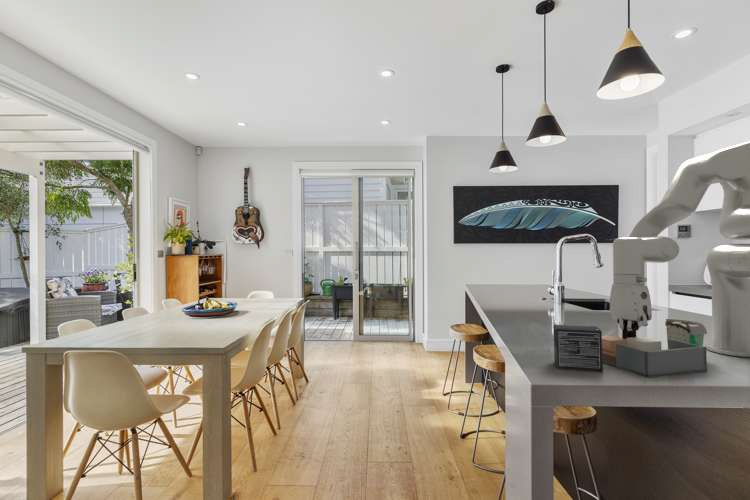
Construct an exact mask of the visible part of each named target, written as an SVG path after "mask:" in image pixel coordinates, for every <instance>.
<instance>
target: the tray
mask: <svg viewBox="0 0 750 500" xmlns="http://www.w3.org/2000/svg"><path fill="white" fill-rule="evenodd" d="M707 358H708V357H707V349H706V346H704V345H703V346H699V345H695V344H690V343H686V342H682V341H677V340H673V339H669V349H668V348H667V349H662V350H656V351H644V350H641V349H637V348H633V347H630V346H626V345H623V344H619V343H617V344H616V366H615V367H616V368H620V369H622V370H625V371H628V372H631V373H634V374H635V375H639V376H642V377H645V378H647V379H648V378H656V377H657V378H659V377H667V376H676V375H687V374H694V373H703V372H704V373H705V372H707V371H708V370H707V368H708V367H707V365H708V364H707Z"/></svg>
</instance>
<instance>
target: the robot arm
mask: <svg viewBox="0 0 750 500" xmlns="http://www.w3.org/2000/svg"><path fill="white" fill-rule="evenodd" d="M718 183H719V184H720V185H721V186H720V187H722V190H723V201H722V208H721V212H720V219H719V223H718V224H719V225H718V228H719V229H718V230H719V234H721V236H722V237H724V238H725V239H730V240H737V241H738V240H748V241H749V240H750V141H747V142H743V143H740V144H735V145H732V146H729V147H724V148H721V149H719V150H717V151H714V152H711V153H708V154H704V155H700V156H697V157H693V158H691V159H690V158H689V159H687V160H686V161H685V162H683V163H682V164H681V165H680V166H679V168H678V170H677V171H676V173H675V175H674V177H673V178H672V180H671V183H670V184H669V186H668V188H667V190H666V191H665V193H664V195H663V197H662V199H661V200H660V202H658V204H656V205H655V206H654V207H653V208H652V209H650V210H649V212H647V213H646V214H645V215H644V216H643V217H641V219H640V220H639V221H638V222H637V223H636V224H635V226H634V227H633V229H632V230H631V232H630V234H629V236H628V237H618V238H615V239H614V240H613V242H612V268H613V269H612V270H613V271H612V272H613V273H612V274H613V275H612V277H613V278H612V279H613V280H612V282H613V283H612V284H611V289H610V295H609V311H610V312H609V313H610V316H611V319H612V321H615V322H616V323H618V325H619V328H620V329H621V336H622V337H621V338H623V339H627V338H631V337H637V331H639V329H640V328H641V327H648V326H649V323H648V322H649V321H651V320H652V316H653V315H652V314H653V313H652V309H653V308H652V301H651V295H650V294H651V293H650V290H649V288H648V285H645V284H646V282H647V281H648V278H647V277H646V275H645V272H646V271H645V270H646V268H645V265H646V264H645V263H655V264H657V263H659V264H660V263H661V264H663V263H668V262H671V261H673V260H675V259H676V258H677V257H678V255H679V253H680V246H679V243H678V242H677V241H676V240H675V239H673V238H671V237H667V236H663V235H662V236H660V234H661V233H662V232H664V231H665V230H666V229H667V228H669V227H671V226H672V225H675V224H676V223H680V222H681V221H683V220H685V219H686V218H688V217H690V216H692V215H693V214H694V213H695V212H696V210H697V209H698V207H699V205H700V203H701V202H702V200H703V198H704V196H705V194H706V192H707V190H708V189H709V187H710V186H711V185H714V184H718ZM706 266H707V269H708V273H709V277H710V283H711V285H710V286H711V326H712V327H711V328H712V329H711V331H712V339H711V340H712V342H708V343H706V344H705V347H706V350H708V351H710V352H713V353H717V354H721V355H726V356H731V357H732V356H733V357H740V358H750V243H726V244H720V245H717V246H715V247H714V248H712V249H711V250H709V252H708V254H707V255H706Z"/></svg>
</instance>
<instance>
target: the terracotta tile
mask: <svg viewBox="0 0 750 500" xmlns="http://www.w3.org/2000/svg"><path fill="white" fill-rule="evenodd" d="M617 343H619V344H623V345H626V346H627V339H623V338H622V337H619V336H615V335H610V334H609V335H607V334H606V335H602V349H603V350H606V351H610V352H614V351H616V344H617Z"/></svg>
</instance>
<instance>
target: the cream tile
mask: <svg viewBox="0 0 750 500" xmlns="http://www.w3.org/2000/svg"><path fill="white" fill-rule="evenodd" d="M627 346H630V347H633V348H637V349H641V350H644V351H656V350H661V349H662V340H657V339H653V338H650V337H645V336H636V337H631V338H627Z"/></svg>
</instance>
